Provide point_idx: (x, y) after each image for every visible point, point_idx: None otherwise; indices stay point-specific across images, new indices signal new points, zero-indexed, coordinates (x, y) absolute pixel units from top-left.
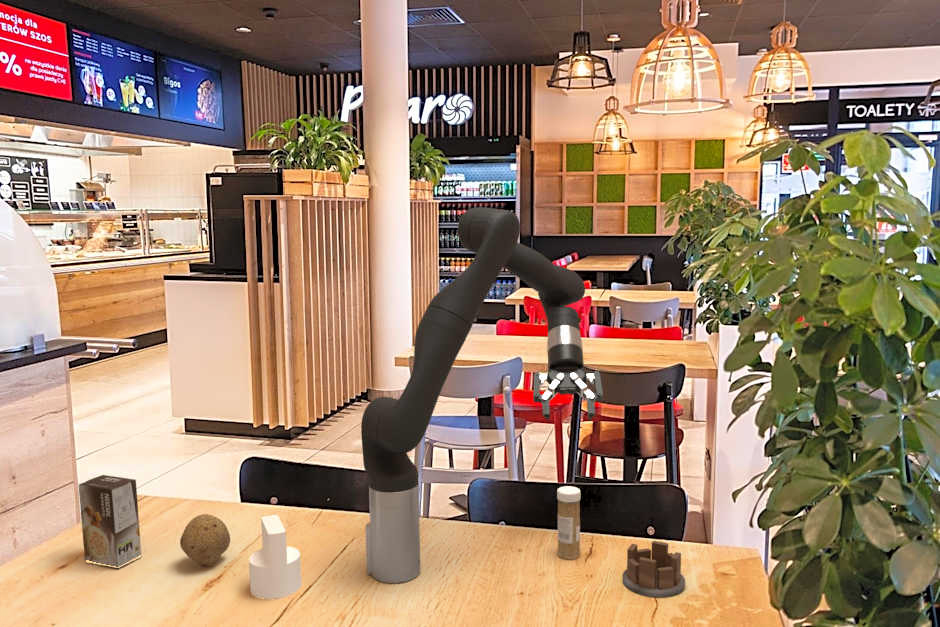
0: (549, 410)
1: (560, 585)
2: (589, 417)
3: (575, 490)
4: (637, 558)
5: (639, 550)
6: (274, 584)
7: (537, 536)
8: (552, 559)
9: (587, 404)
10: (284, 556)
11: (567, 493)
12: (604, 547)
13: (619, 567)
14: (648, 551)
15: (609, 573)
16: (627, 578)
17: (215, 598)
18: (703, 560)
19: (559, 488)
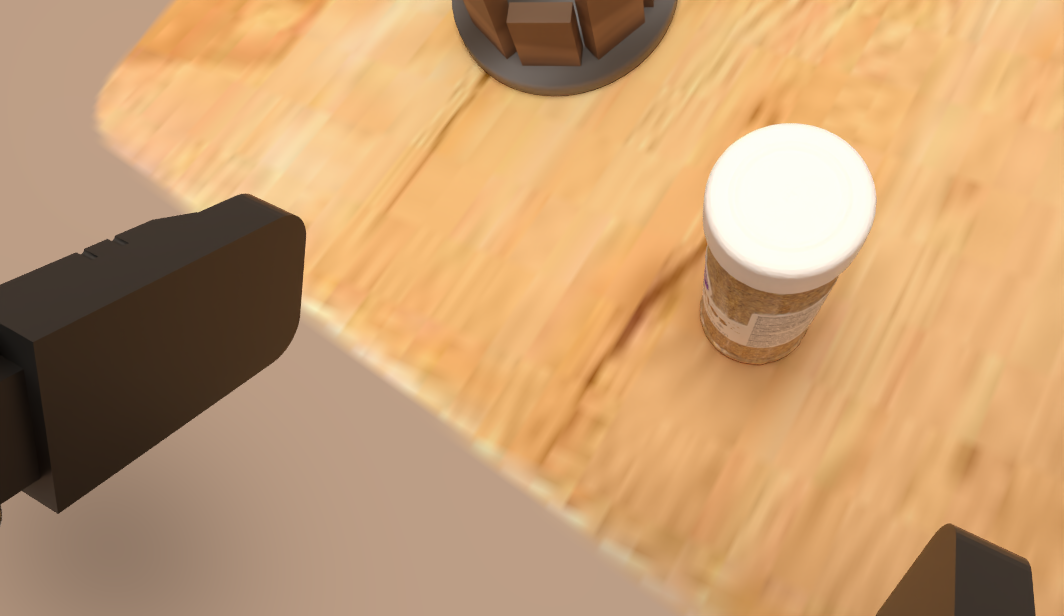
0: (955, 594)
1: (921, 77)
2: (292, 261)
3: (756, 156)
4: (576, 18)
5: (553, 16)
6: None
7: (806, 580)
8: (848, 303)
9: (100, 403)
10: None
11: (832, 137)
12: (559, 327)
13: (608, 139)
14: (522, 4)
15: (675, 107)
16: (657, 1)
17: None
18: (288, 91)
19: (845, 240)
